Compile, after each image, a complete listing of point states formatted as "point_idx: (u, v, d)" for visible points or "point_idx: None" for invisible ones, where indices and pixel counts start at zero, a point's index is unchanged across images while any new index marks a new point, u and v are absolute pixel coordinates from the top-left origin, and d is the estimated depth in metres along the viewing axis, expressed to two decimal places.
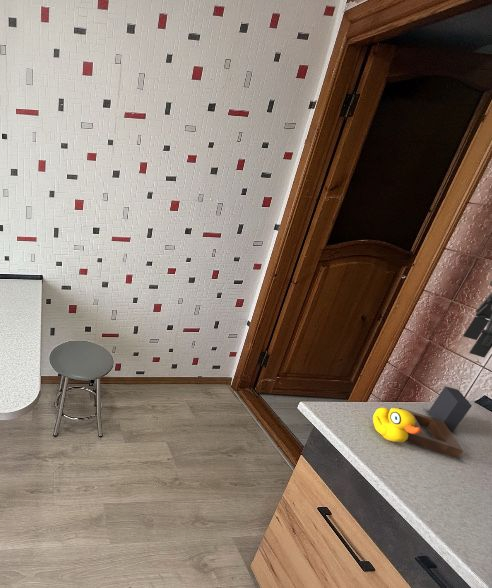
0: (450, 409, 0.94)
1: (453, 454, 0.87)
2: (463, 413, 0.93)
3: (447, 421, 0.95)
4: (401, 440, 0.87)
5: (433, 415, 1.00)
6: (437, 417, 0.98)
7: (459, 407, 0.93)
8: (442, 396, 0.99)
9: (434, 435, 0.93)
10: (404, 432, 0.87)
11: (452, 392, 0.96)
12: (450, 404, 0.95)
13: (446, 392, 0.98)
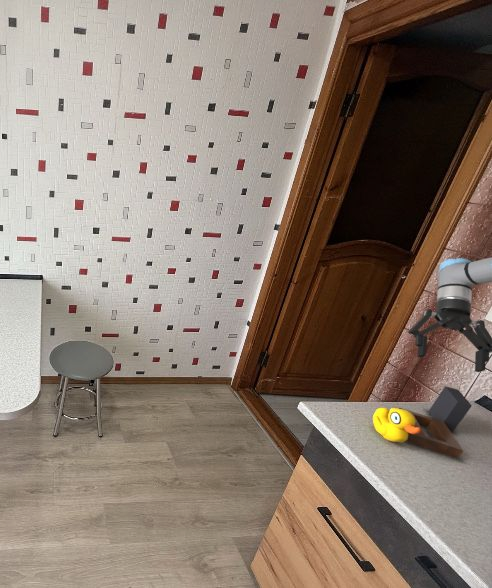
0: (450, 409, 0.94)
1: (453, 454, 0.87)
2: (463, 413, 0.93)
3: (447, 421, 0.95)
4: (401, 440, 0.87)
5: (433, 415, 1.00)
6: (437, 417, 0.98)
7: (459, 407, 0.93)
8: (442, 396, 0.99)
9: (434, 435, 0.93)
10: (404, 432, 0.87)
11: (452, 392, 0.96)
12: (450, 404, 0.95)
13: (446, 392, 0.98)
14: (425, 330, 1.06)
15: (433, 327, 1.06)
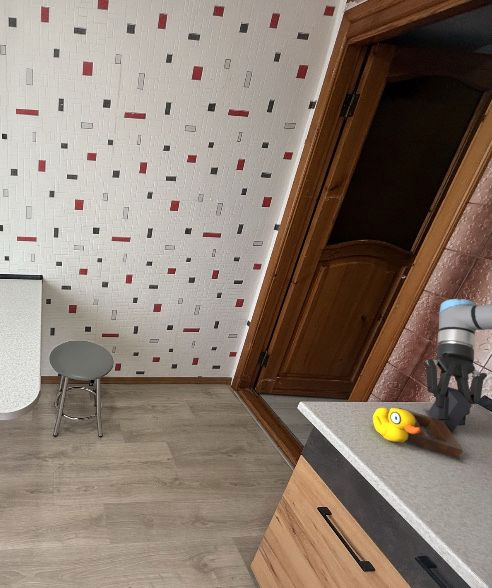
0: (450, 409, 0.94)
1: (453, 454, 0.87)
2: (463, 413, 0.93)
3: (447, 421, 0.95)
4: (401, 440, 0.87)
5: (433, 415, 1.00)
6: (437, 417, 0.98)
7: (459, 407, 0.93)
8: None
9: (434, 435, 0.93)
10: (404, 432, 0.87)
11: (452, 392, 0.96)
12: (450, 404, 0.95)
13: (446, 392, 0.98)
14: (443, 388, 0.97)
15: (447, 381, 0.98)
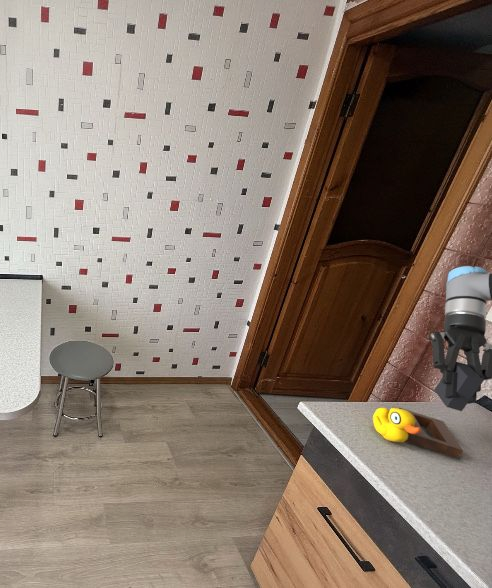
0: (459, 385, 0.84)
1: (453, 454, 0.87)
2: (474, 389, 0.83)
3: (455, 398, 0.85)
4: (401, 440, 0.87)
5: (439, 393, 0.90)
6: (444, 395, 0.89)
7: (469, 383, 0.83)
8: None
9: (434, 435, 0.93)
10: (404, 432, 0.87)
11: (461, 367, 0.86)
12: (459, 380, 0.85)
13: None
14: (451, 363, 0.88)
15: (455, 355, 0.88)
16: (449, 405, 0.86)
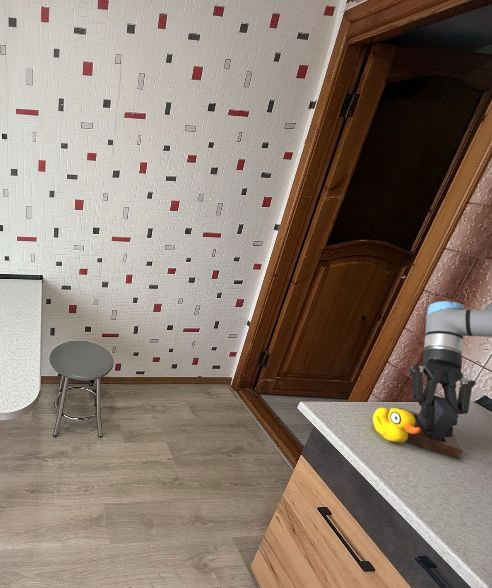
0: (436, 419, 0.88)
1: (453, 454, 0.87)
2: (450, 424, 0.86)
3: (433, 432, 0.89)
4: (401, 440, 0.87)
5: None
6: (423, 428, 0.92)
7: (445, 418, 0.86)
8: None
9: None
10: (404, 432, 0.87)
11: (438, 401, 0.90)
12: (436, 414, 0.89)
13: None
14: (429, 397, 0.91)
15: (433, 390, 0.92)
16: None
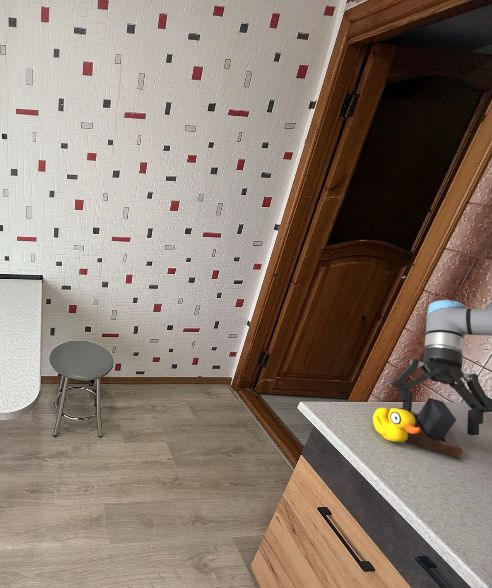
0: (434, 422, 0.88)
1: (453, 454, 0.87)
2: (448, 427, 0.87)
3: (430, 435, 0.89)
4: (401, 440, 0.87)
5: None
6: None
7: (443, 421, 0.87)
8: (426, 408, 0.93)
9: None
10: (404, 432, 0.87)
11: (436, 404, 0.91)
12: (434, 418, 0.89)
13: (430, 404, 0.92)
14: (411, 383, 0.93)
15: (420, 380, 0.93)
16: None
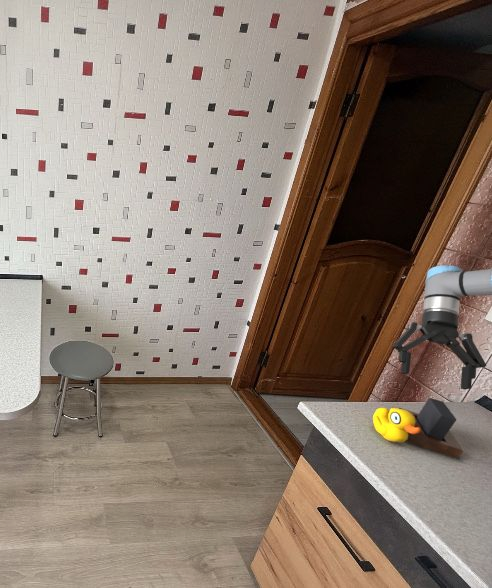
0: (434, 422, 0.88)
1: (453, 454, 0.87)
2: (448, 427, 0.87)
3: (430, 435, 0.89)
4: (401, 440, 0.87)
5: None
6: None
7: (443, 421, 0.87)
8: (426, 408, 0.93)
9: None
10: (404, 432, 0.87)
11: (436, 404, 0.90)
12: (434, 418, 0.89)
13: (430, 404, 0.92)
14: (409, 345, 1.01)
15: (418, 342, 1.00)
16: None
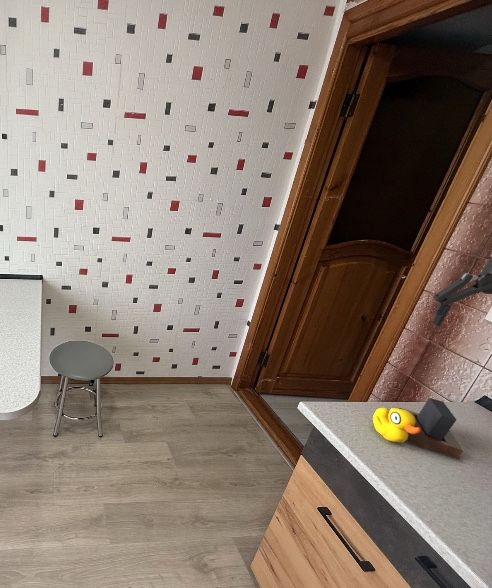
0: (434, 422, 0.88)
1: (453, 454, 0.87)
2: (448, 427, 0.87)
3: (430, 435, 0.89)
4: (401, 440, 0.87)
5: None
6: None
7: (443, 421, 0.87)
8: (426, 408, 0.93)
9: None
10: (404, 432, 0.87)
11: (436, 404, 0.90)
12: (434, 418, 0.89)
13: (430, 404, 0.92)
14: (452, 299, 0.95)
15: (464, 296, 0.93)
16: None
